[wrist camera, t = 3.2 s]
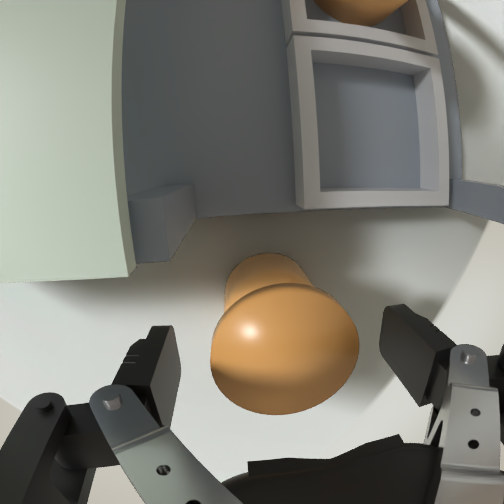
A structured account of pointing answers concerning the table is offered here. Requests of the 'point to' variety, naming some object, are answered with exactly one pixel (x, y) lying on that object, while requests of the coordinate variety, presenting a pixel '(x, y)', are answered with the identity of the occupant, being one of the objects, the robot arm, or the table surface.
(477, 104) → the table surface
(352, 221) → the table surface
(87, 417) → the robot arm
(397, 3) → the ball
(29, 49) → the lid
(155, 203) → the housing
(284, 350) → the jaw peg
